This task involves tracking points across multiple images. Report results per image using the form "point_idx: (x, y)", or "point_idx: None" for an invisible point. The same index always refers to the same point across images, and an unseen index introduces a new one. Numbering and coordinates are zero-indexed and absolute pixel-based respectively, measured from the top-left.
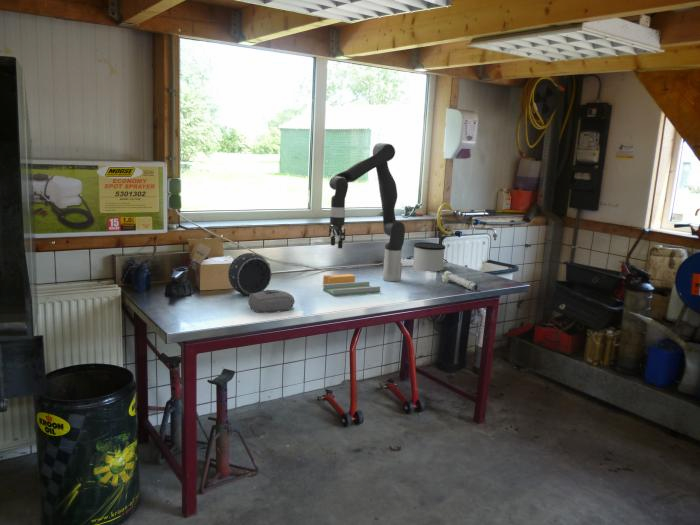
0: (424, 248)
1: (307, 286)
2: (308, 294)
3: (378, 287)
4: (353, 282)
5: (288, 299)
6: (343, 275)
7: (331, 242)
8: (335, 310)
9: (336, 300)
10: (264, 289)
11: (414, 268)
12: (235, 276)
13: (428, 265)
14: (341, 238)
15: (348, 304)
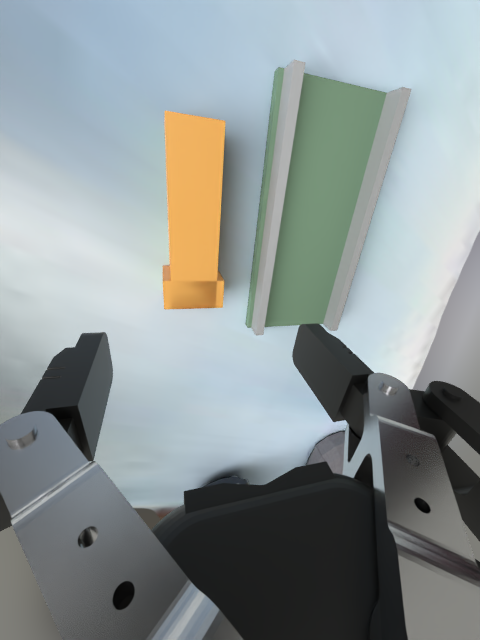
0: None
1: (179, 356)
2: (274, 379)
3: (404, 104)
4: (279, 187)
5: None
6: (194, 199)
7: (106, 403)
8: (414, 362)
9: (361, 330)
10: (246, 480)
11: None
12: None
13: None
14: (448, 449)
15: (405, 316)
